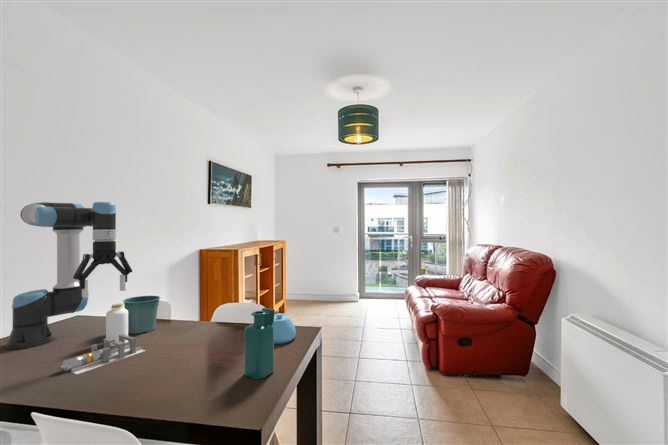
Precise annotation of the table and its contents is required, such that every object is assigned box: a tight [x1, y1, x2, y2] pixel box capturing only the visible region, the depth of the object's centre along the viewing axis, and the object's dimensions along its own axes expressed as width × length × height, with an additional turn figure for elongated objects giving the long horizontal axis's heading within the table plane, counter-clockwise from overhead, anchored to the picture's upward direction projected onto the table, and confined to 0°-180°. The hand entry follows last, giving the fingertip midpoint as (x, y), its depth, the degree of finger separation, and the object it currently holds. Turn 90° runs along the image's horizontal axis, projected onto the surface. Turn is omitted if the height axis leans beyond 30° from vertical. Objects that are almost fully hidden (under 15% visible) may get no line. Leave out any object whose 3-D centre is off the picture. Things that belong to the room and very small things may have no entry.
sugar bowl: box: [272, 312, 297, 345], centre depth 148 cm, size 15×15×12 cm
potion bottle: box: [105, 303, 129, 347], centre depth 142 cm, size 8×8×18 cm
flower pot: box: [122, 295, 161, 335], centre depth 162 cm, size 16×16×16 cm
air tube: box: [62, 347, 111, 372], centre depth 120 cm, size 14×4×4 cm, turn 150°
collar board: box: [60, 334, 146, 375], centre depth 125 cm, size 13×24×7 cm, turn 150°
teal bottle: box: [243, 307, 276, 380], centre depth 114 cm, size 10×8×22 cm
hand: (104, 293), depth 127 cm, fingers open, 13 cm apart
